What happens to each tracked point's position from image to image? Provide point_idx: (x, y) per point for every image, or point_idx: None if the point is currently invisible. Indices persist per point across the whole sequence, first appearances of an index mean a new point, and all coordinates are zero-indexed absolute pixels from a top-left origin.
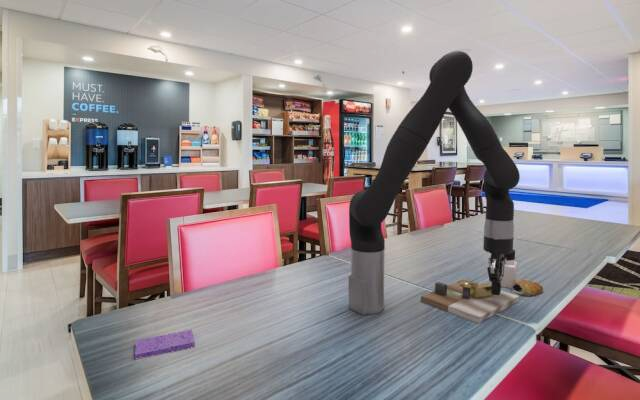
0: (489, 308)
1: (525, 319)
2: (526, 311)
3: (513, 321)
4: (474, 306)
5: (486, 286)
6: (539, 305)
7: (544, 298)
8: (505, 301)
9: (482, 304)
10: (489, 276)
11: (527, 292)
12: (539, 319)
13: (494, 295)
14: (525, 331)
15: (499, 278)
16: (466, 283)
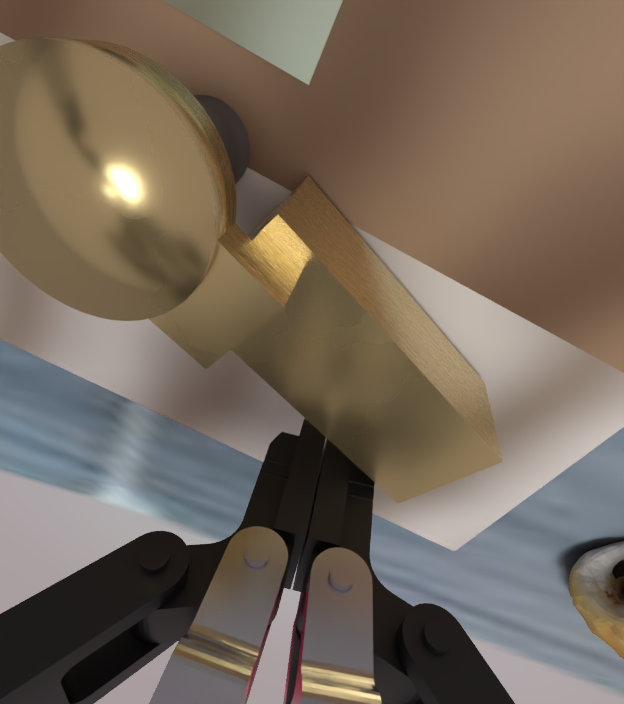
0: (86, 354)
1: (171, 490)
2: None
3: (104, 438)
4: None
5: (326, 423)
6: (416, 580)
7: (547, 622)
8: None
9: None
10: (15, 612)
11: (573, 599)
12: (212, 537)
13: None
14: (28, 464)
15: (156, 651)
16: (19, 201)
